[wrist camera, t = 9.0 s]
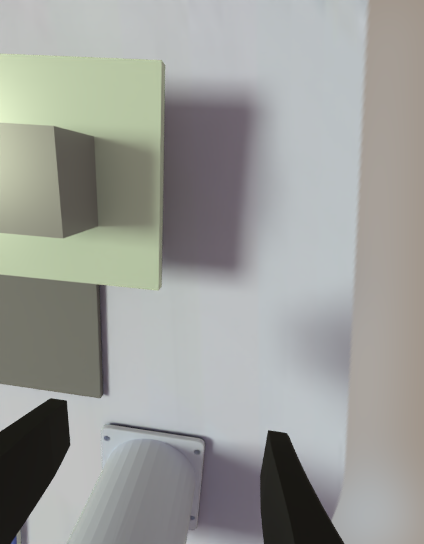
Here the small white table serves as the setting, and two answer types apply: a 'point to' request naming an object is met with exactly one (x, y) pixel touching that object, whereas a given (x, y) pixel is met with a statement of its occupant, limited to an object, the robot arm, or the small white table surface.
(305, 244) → the small white table surface
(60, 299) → the mat
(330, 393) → the small white table surface
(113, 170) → the lid
